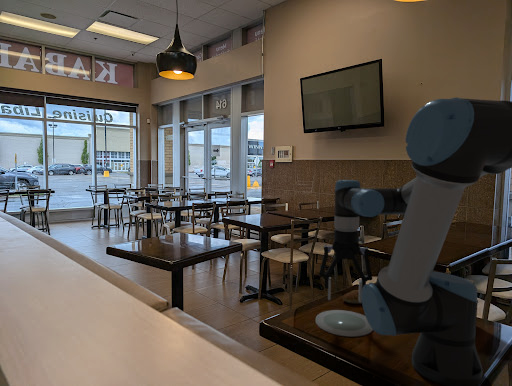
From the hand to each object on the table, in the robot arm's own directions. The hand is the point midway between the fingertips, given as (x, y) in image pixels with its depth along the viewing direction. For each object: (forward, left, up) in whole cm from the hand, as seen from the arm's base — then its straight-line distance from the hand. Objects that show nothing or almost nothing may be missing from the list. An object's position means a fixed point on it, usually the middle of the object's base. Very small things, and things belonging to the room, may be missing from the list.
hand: (344, 299), depth 112 cm
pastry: (+21, -2, -9) cm, 23 cm away
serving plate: (0, 0, -8) cm, 8 cm away
